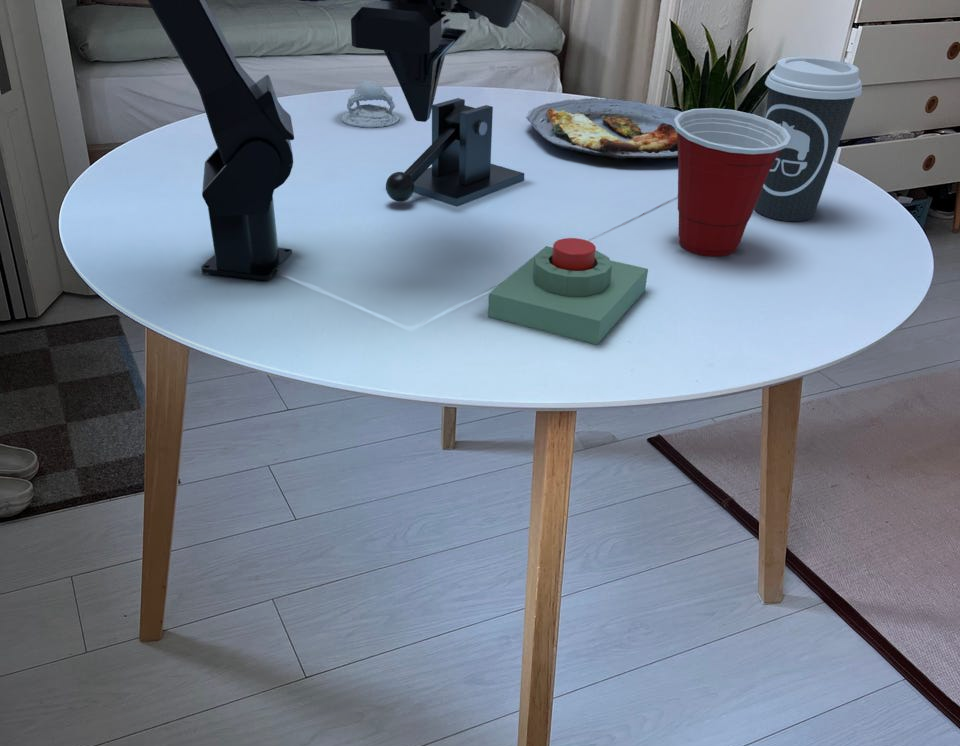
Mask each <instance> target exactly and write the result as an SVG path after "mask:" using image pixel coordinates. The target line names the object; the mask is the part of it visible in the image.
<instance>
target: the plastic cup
mask: <svg viewBox="0 0 960 746" xmlns="http://www.w3.org/2000/svg"><path fill="white" fill-rule="evenodd" d="M680 112H681V113H679V114H678V115H677V116H676V118H675V119H674V125H675V128H676V131H677V143H678V161H677V211H678V231H677V232H678V239H679V245H680V247H681V248H683V249H684V250H685V251H686V252H689V253H692V254H694V255H698V256H704V257H715V258H717V257H718V258H719V257H727V256H730V255H732V254H735V252H736V251H737V248H738V247H739V245H740V243H741V241H742V238H743V236H744V233H745V230H746V228H747V225H748V222H749V221H750V219H751V217H752V215H753V213H754V211H755V209H754V208H755V205H756V203H757V200H758V198H759V195H760V193H761V190H762V188H763V185H764V183H765V180H766V178H767V175H768V173H769V171H770V169H771V167H772V165H773V163H774V161H775V160H776V158H777V156H778V154H779V153H780V151H781V150H782V149H784V148H785V147H786V145H787V144H788V142H789V140H790V138H791V137H790V135H789V133H788V132H787V130H786V129H785V128H783V127H781V126H780V125H778V124H777V123H775V122H773V121H771V120H768V119H765V117H763V116H759V115H757V114H754V113H749V112H744V111H739V110H734V109H728V108H727V109H726V108H714V107H710V108H707V107H706V108H692V109H689V110H685V111H680Z"/></svg>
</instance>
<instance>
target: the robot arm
mask: <svg viewBox="0 0 960 746" xmlns="http://www.w3.org/2000/svg"><path fill="white" fill-rule="evenodd" d="M147 2H148V4H149V5H150V7H151V9H152V10H153V12H154V14H155V16H156V18H157V20H158V21H159V23H160V25H161V27H162V29H163V30H164V32H165V33H166V35H167V37H168V39H169V41H170V42H171V44H172V46H173V48H174V50H175V51H176V53H177V55H178V57H179V58H180V60H181V62H182V64H183V66H184V67H185V69H186V70H187V73H188V75H189V76H190V78H191V81H192V82H193V83H194V85H195V87H196V88H197V90H198V93H199V97H200V99H201V102H202V105H203V108H204V111H205V115H206V117H207V121H208V124H209V127H210V130H211V135H212V136H213V139H214V142H215V145H216V147H217V148H215V149H214V151H213V152H212V153H211V154H210V155H209V156H208V158H207V159H206V160H205V161H204V167H203V178H202V179H203V180H202V190H201V191H202V192H201V197H202V198H203V200H204V202H205V204H206V206H207V211H208V217H209V225H210V231H211V238H212V245H213V251H214V255H213V256H212V257H210V258H209V259H208V260H207V261H206V262H204V263H203V264H202V265H201V266H200V269H201V273H203V274H209V275H218V276H224V277H225V276H227V277H232V278H241V279H250V280H257V281H268V280H270V279H271V278H272V277H273V276H274V275H275V274H276V273H277V272H278V269H279V268H280V267H281V266H282V265H283V264H284V263H285V262H286V261H287V260H288V259H289V258H290V257H291V256H292V255H293V249H291V248H286V247H279V244H278V242H279V241H278V233H277V232H278V231H277V225H276V215H275V204H274V192H275V190H276V189H278V188H280V186H282V185H284V184H285V182H286V181H287V180H288V178H289V177H290V176H291V172H292V169H293V166H294V155H293V149H292V142H291V141H294V140H295V134H294V133H295V132H294V128H293V122H292V117H291V116H292V115H290V113H288V111H286V110H285V108H283V106H282V105H281V103H280V102H279V100H278V98H277V95H276V91H275V89H274V85H273V83H272V80H271V77H270V75H269V74H265V75H264V76H263V77H262V78H261V79H259V80H258V81H254V80H253V78H252V77H251V76H250V75H249V74H248V72H247V71H246V70H245V69H244V67H242V65H241V64H240V62H238V60H237V58H236V56H235V54H234V53H233V51H232V49H231V47H230V45H229V43H228V41H227V39H226V38H225V35H224V34H223V32H222V30H221V28H220V26H219V24H218V22H217V20H216V18H215V17H214V15H213V13H212V11H211V8H210V7H209V5H208V3H207V2H206V0H147ZM523 2H524V0H373V1H371V2H369V3H367V4H365V5H363V6H361V7H360V8H359V10H358V11H357V12H356V13H355V14H354V15H353V16H352V18H351V19H350V32H351V35H350V36H351V37H350V38H351V46H352V47H354V48H356V49H364V50H365V49H366V50H374V51H383V52H384V54H385V56H386V58H387V61H388V62H389V65H390V67H391V69H392V71H393V73H394V75H395V77H396V80H397V82H398V84H399V86H400V88H401V91H402V93H403V95H404V98H405V100H406V102H407V104H408V107H409V109H410V112H411V114H412V116H413V119H414V120H415V121H416V122H421V123H422V122H423V123H426V122H428V120H429V119H430V117H431V115H432V106H433V105H434V101H435V97H436V93H437V90H438V86H439V85H438V84H439V81H440V77H441V73H442V69H443V65H444V61H445V58H446V56H447V53H448V51H449V50H451V48H452V47H453V46H454V45H455V44H456V43H458V41H460V40H461V38H463V37H464V36H465V35H466V32H467V30H466V29H463V28H452V27H451V19H449V18H447V14H448V13H453V14H468V19H469V20H477V19H479V18H480V17H482V16H483V17H485V18H487V20H488V22H489V23H490V24H493V25H494V26H496V27H499V28H502V29H508V28H509V27H510V25H511V24H512V23H515V22H516V19H517V18H518V14H519V12H520V10H521V6H522V4H523Z"/></svg>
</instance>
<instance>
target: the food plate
mask: <svg viewBox="0 0 960 746" xmlns="http://www.w3.org/2000/svg"><path fill="white" fill-rule="evenodd" d="M681 112H682V111H680V110H678V109H674V108H669V107H665V106H659V105H654V104H648V103H645V102H639V101H632V100H623V99H612V98H599V97H591V98H580V99H578V98H577V99H575V98H573V99H563V100H559V101H554V102H549V103H547V102H546V103H545V104H541V105H538V106H535V107H533V108H531V109H530V110H529V111H528V113H527V115H526V116H525V119H526V121H528V122H529V123H530V125H531V126H532V128H534V130H535V131H537V132H538V134H539V135H541V136H542V137H543V138H544V140H546V141H548V142H549V143H551V144H552V145H555V146H557V147H559V148H563V149H567V150H570V151H571V150H572V151H576V152H579V153H584V154H590V155H594V156H599V157H600V156H603V157H610V158H614V159H615V158H616V159H618V160H620V159H630V158H631V159H635V158H636V159H640V158H641V159H646V160H648V159H659V158H660V159H661V158H662V159H668V160H671V159H676V158H678V143H677V131H676V128H675V125H674V119H675V118H676V116H677V115H678V114H679V113H681Z"/></svg>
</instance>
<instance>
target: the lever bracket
mask: <svg viewBox="0 0 960 746" xmlns="http://www.w3.org/2000/svg"><path fill="white" fill-rule="evenodd" d="M465 101H466V99H464V98H460V97H457V98H452V99H449V100H445V101H442V102H438V103H435V104H434V103H433V106H432V110H431V145H432V144H433V143H434V142H435V140H436V139H437V138H438V137H439V136H440V135H441V134H442V133H443V132H444V131H445V130H446V129H447V127H446V124H445V121H444V119H445V118H446V117H447V116H448V115H449V114H450V113H451V112H452V111H453V110H454V109H455V108H456V107H457V106H458V105H459V104H462V105H465V103H466V102H465ZM473 108H474V109H471V110H467V111H464V112H460V141H459V140H455V141H454V142H453V143H452V144H451V145H450V146H449V147H448V148H447V149H446V150H445V151H444V152H443V153H442V154H441V155H440V156H439V157H438V158H437V159H436V160H435V161H434V162H433V163H432V164H431V166H430V167H428V168H427V170H426V171H425V172H424V173H423V174H422V175H421V176H420V177H419V178H418V179H417V180H416V181H415V182H414V192H413V194H417V195H420V196H423V197H426V198H429V199H433V200H435V201H439V202H442V203H444V204H447V205H450V206H454V207H459V206H462V205H464V204H466V203H467V204H468V203H469V202H472V201H475V200H478V199H480V198H482V197H485V196H487V195H490V194H492V193H495V192H498V191H500V190H503V189H505V188H508V187H511V186H513V185H516V184H519V183H521V182H524V181H525V172H521V171H518V170H514V169H512V168H508V167H505V166H501V165H498V164H495V163H492V161H491V160H492V141H493V140H492V138H493V117H494V116H493V114H494V113H493V111H494V106H492V105H488V104H485V105H482V106H478V107H473Z"/></svg>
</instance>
